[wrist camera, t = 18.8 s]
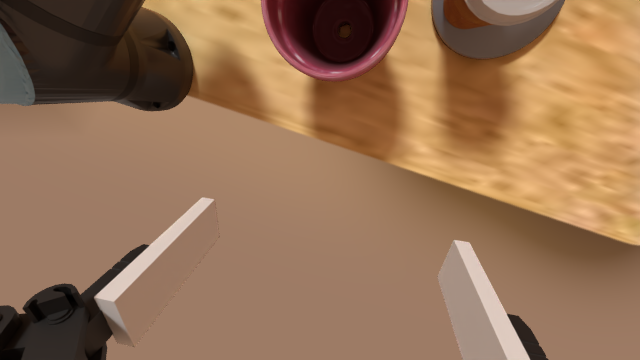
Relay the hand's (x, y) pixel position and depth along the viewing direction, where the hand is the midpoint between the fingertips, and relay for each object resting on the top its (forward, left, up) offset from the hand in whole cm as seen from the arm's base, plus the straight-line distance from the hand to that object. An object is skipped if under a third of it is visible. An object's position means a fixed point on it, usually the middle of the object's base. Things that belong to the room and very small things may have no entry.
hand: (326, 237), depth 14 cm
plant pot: (-9, +13, -29) cm, 33 cm away
